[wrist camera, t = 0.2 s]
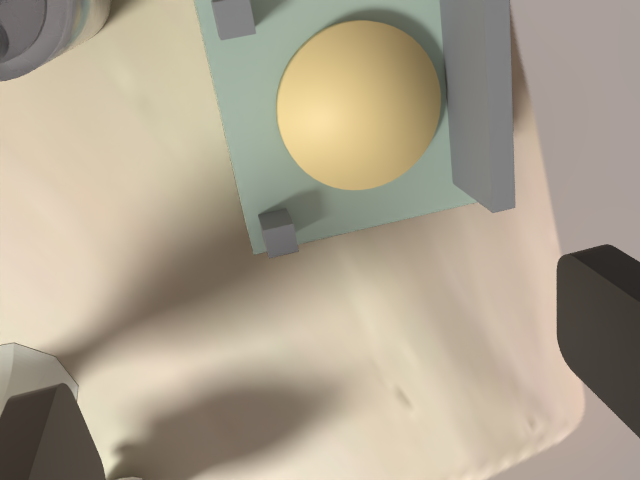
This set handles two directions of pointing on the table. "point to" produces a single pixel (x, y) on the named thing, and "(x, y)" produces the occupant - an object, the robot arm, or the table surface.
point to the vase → (29, 372)
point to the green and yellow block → (360, 111)
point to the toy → (130, 478)
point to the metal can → (45, 31)
